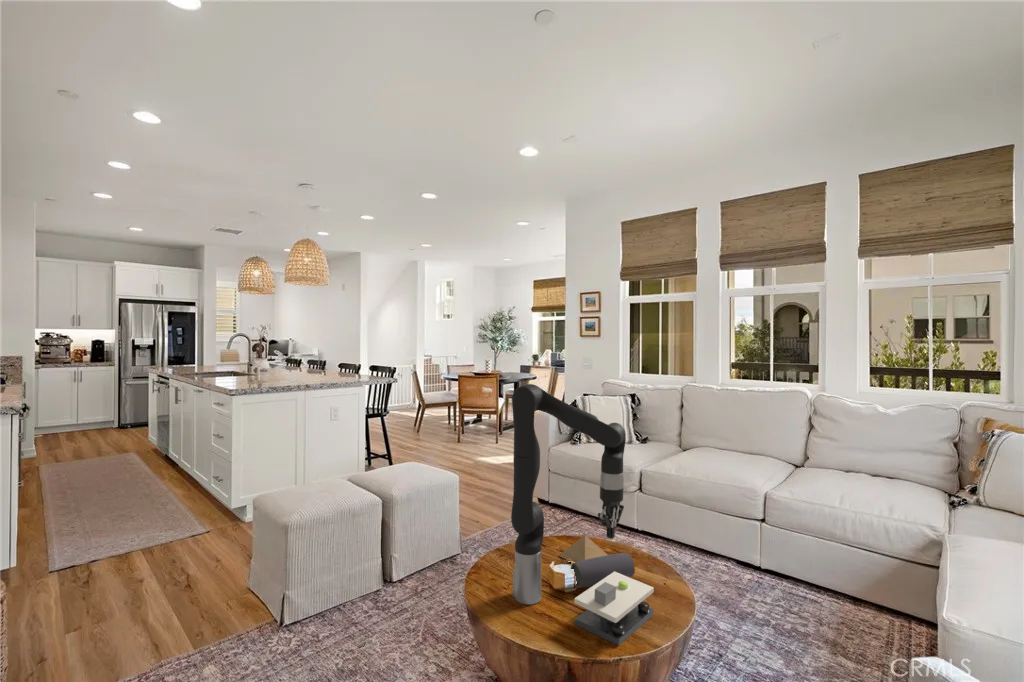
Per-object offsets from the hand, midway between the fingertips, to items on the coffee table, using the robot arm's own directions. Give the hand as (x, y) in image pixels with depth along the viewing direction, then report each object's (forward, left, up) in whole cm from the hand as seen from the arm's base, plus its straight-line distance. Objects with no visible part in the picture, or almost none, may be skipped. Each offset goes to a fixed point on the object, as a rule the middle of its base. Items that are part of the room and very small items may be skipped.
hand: (610, 537), depth 164 cm
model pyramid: (-31, +30, -27) cm, 51 cm away
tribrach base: (+2, 0, -27) cm, 27 cm away
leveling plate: (+2, 0, -20) cm, 20 cm away
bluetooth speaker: (-14, +17, -27) cm, 34 cm away
